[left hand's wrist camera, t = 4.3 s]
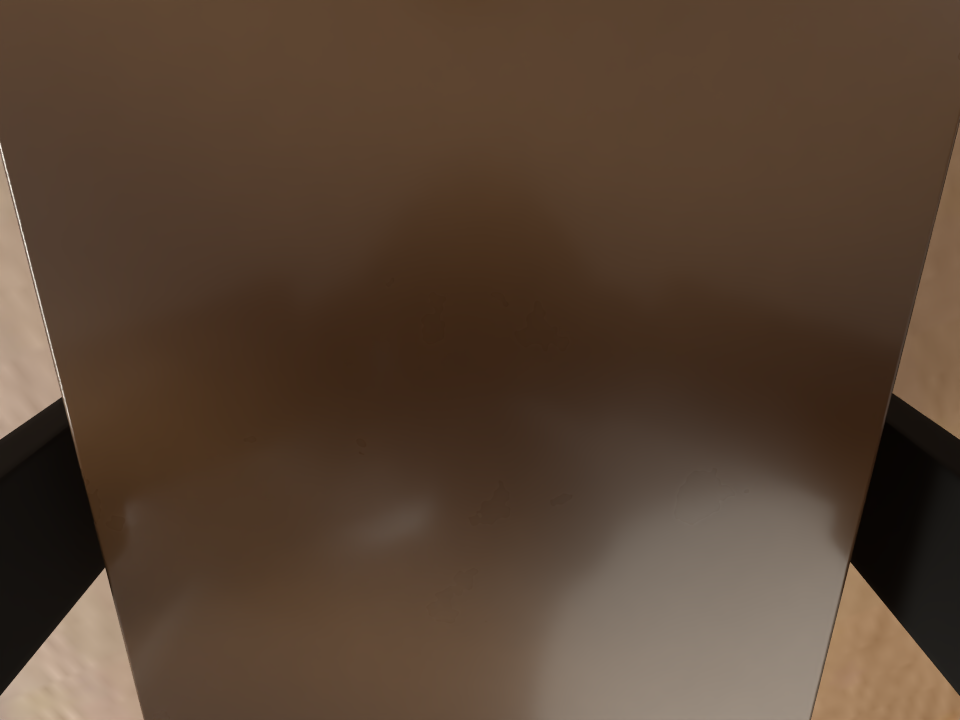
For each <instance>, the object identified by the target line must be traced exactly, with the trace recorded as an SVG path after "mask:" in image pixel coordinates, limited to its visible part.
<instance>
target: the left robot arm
mask: <svg viewBox="0 0 960 720" xmlns="http://www.w3.org/2000/svg"><path fill="white" fill-rule="evenodd" d="M850 562H851V563H852V564H853V566H854V567H855V568H856V569H857V571H858V572H859V573H860V574H861V575H862V577H863V578H864V579H865V580H866V582H867V583H868V584H869V585H870V587H871V588H872V589H873V590H874V591H875V593H876V594H877V595H878V596H879V598H880V599H881V600H882V601H883V602H884V604H885V605H886V606H887V607H888V609H889V610H890V611H891V612H892V613H893V615H894V616H895V617H896V618H897V620H898V621H899V622H900V623H901V624H902V626H903V627H904V628H905V629H906V631H907V632H908V633H909V634H910V635H911V637H912V638H913V639H914V640H915V642H916V643H917V644H918V645H919V646H920V648H921V649H922V650H923V651H924V653H925V654H926V655H927V656H928V657H929V659H930V660H931V661H932V662H933V664H934V665H935V666H936V667H937V669H938V670H939V671H940V672H941V673H942V675H943V676H944V677H945V678H946V680H947V681H948V682H949V683H950V684H951V686H952V687H953V688H954V689H955V691H956V692H957V693H958V694H959V695H960V440H959V439H958V438H957V437H955V436H954V435H952V434H951V433H949V432H948V431H946V430H945V429H943V428H942V427H941V426H939V425H938V424H936V423H935V422H933V421H932V420H930V419H929V418H928V417H926V416H925V415H923V414H922V413H920V412H919V411H917V410H916V409H914V408H913V407H912V406H910V405H909V404H907V403H906V402H904V401H903V400H901V399H900V398H899V397H897V396H896V395H894V394H893V393H892V396H891V400H890V404H889V408H888V412H887V416H886V420H885V424H884V428H883V432H882V436H881V440H880V444H879V448H878V452H877V456H876V460H875V464H874V468H873V472H872V476H871V480H870V484H869V488H868V492H867V496H866V500H865V504H864V508H863V512H862V516H861V520H860V524H859V528H858V532H857V536H856V540H855V544H854V548H853V552H852V556H851V560H850ZM104 568H105V564H104V560H103V556H102V552H101V548H100V544H99V540H98V536H97V533H96V529H95V525H94V521H93V517H92V513H91V509H90V505H89V501H88V497H87V493H86V489H85V485H84V481H83V477H82V473H81V469H80V465H79V461H78V457H77V454H76V450H75V446H74V442H73V438H72V434H71V430H70V426H69V422H68V418H67V414H66V410H65V406H64V402H63V398H62V397H61V398H60V399H59V400H57V401H56V402H54V403H53V404H51V405H50V406H48V407H47V408H45V409H44V410H43V411H41V412H40V413H38V414H37V415H35V416H34V417H32V418H31V419H30V420H28V421H27V422H25V423H24V424H22V425H21V426H19V427H18V428H17V429H15V430H14V431H12V432H11V433H9V434H8V435H6V436H5V437H3V438H2V439H1V440H0V695H1V694H2V693H3V692H4V690H5V689H6V688H7V687H8V686H9V684H10V683H11V682H12V681H13V679H14V678H15V677H16V676H17V675H18V673H19V672H20V671H21V670H22V668H23V667H24V666H25V665H26V664H27V662H28V661H29V660H30V659H31V657H32V656H33V655H34V654H35V653H36V651H37V650H38V649H39V648H40V646H41V645H42V644H43V643H44V642H45V640H46V639H47V638H48V637H49V635H50V634H51V633H52V632H53V631H54V629H55V628H56V627H57V626H58V624H59V623H60V622H61V621H62V620H63V618H64V617H65V616H66V615H67V613H68V612H69V611H70V610H71V608H72V607H73V606H74V605H75V604H76V602H77V601H78V600H79V599H80V597H81V596H82V595H83V594H84V593H85V591H86V590H87V589H88V588H89V586H90V585H91V584H92V583H93V582H94V580H95V579H96V578H97V577H98V575H99V574H100V573H101V572H102V571H103V569H104Z"/></svg>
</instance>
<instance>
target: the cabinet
mask: <svg viewBox="0 0 960 720" xmlns="http://www.w3.org/2000/svg"><path fill="white" fill-rule="evenodd" d="M959 123H960V0H0V153H1V157H2V161H3V165H4V169H5V173H6V177H7V181H8V185H9V189H10V193H11V197H12V201H13V205H14V209H15V213H16V217H17V221H18V224H19V228H20V232H21V236H22V240H23V244H24V248H25V252H26V256H27V260H28V264H29V268H30V272H31V276H32V280H33V284H34V288H35V292H36V296H37V300H38V303H39V307H40V311H41V315H42V319H43V323H44V327H45V331H46V335H47V339H48V343H49V347H50V351H51V355H52V359H53V363H54V367H55V371H56V375H57V379H58V382H59V386H60V390H61V394H62V398H63V402H64V406H65V410H66V414H67V418H68V422H69V426H70V430H71V434H72V438H73V442H74V446H75V450H76V454H77V457H78V461H79V465H80V469H81V473H82V477H83V481H84V485H85V489H86V493H87V497H88V501H89V505H90V509H91V513H92V517H93V521H94V525H95V529H96V533H97V536H98V540H99V544H100V548H101V552H102V556H103V560H104V564H105V568H106V572H107V576H108V580H109V584H110V588H111V592H112V596H113V600H114V604H115V608H116V611H117V615H118V619H119V623H120V627H121V631H122V635H123V639H124V643H125V647H126V651H127V655H128V659H129V663H130V667H131V671H132V675H133V679H134V683H135V687H136V690H137V694H138V698H139V702H140V706H141V710H142V714H143V718H144V720H811V717H812V713H813V709H814V705H815V701H816V697H817V693H818V689H819V685H820V681H821V677H822V673H823V669H824V665H825V661H826V657H827V653H828V649H829V645H830V641H831V636H832V632H833V628H834V624H835V620H836V616H837V612H838V608H839V604H840V600H841V596H842V592H843V588H844V584H845V580H846V576H847V572H848V568H849V564H850V560H851V556H852V552H853V548H854V544H855V540H856V536H857V532H858V528H859V524H860V520H861V516H862V512H863V508H864V504H865V500H866V496H867V492H868V488H869V484H870V480H871V476H872V472H873V468H874V464H875V460H876V456H877V452H878V448H879V444H880V440H881V436H882V432H883V428H884V424H885V420H886V416H887V412H888V408H889V404H890V400H891V396H892V392H893V388H894V384H895V380H896V376H897V372H898V368H899V364H900V360H901V355H902V351H903V347H904V343H905V339H906V335H907V331H908V327H909V323H910V319H911V315H912V311H913V307H914V303H915V299H916V295H917V291H918V287H919V283H920V279H921V275H922V271H923V267H924V263H925V259H926V255H927V251H928V247H929V243H930V239H931V235H932V231H933V227H934V223H935V219H936V215H937V211H938V207H939V203H940V199H941V195H942V191H943V187H944V183H945V179H946V175H947V171H948V167H949V163H950V159H951V155H952V151H953V147H954V143H955V139H956V135H957V131H958V127H959Z"/></svg>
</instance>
